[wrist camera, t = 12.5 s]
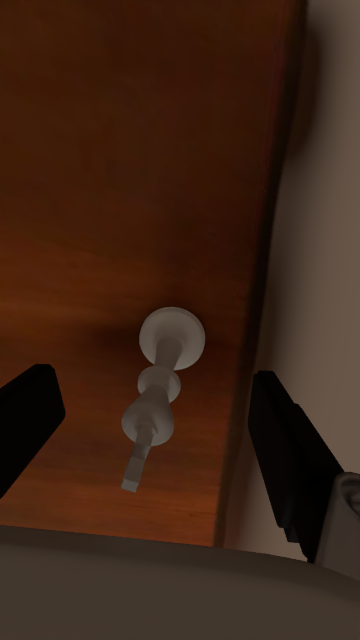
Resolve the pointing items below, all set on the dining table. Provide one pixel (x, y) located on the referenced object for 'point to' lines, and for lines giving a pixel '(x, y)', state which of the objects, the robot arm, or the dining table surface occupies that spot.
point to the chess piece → (159, 382)
